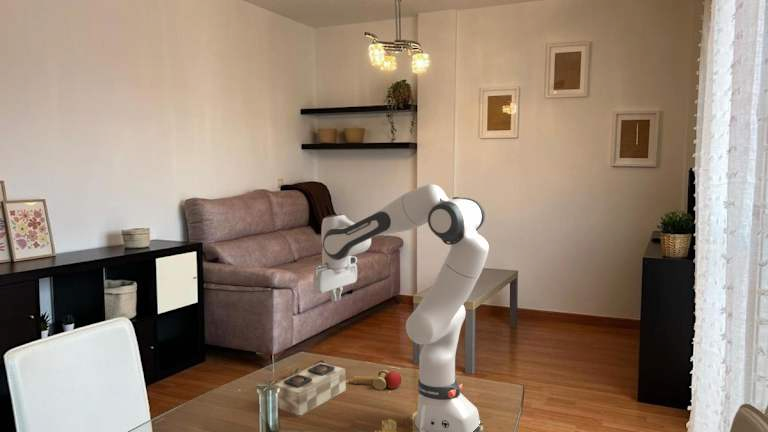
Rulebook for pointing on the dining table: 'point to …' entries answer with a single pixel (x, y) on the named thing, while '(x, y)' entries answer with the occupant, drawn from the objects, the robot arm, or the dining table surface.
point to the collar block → (311, 388)
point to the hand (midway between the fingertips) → (336, 300)
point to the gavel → (296, 370)
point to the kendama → (381, 380)
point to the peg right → (321, 368)
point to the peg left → (298, 380)
